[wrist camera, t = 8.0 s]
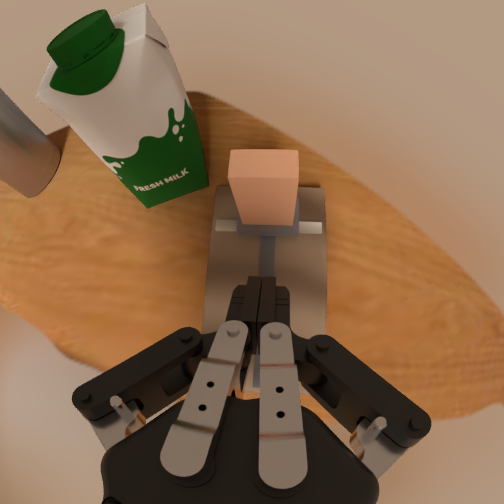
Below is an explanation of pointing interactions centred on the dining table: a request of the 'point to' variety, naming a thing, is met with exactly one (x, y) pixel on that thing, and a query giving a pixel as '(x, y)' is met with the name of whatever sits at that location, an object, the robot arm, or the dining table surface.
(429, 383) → the dining table surface
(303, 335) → the console
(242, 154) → the fader
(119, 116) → the milk carton
